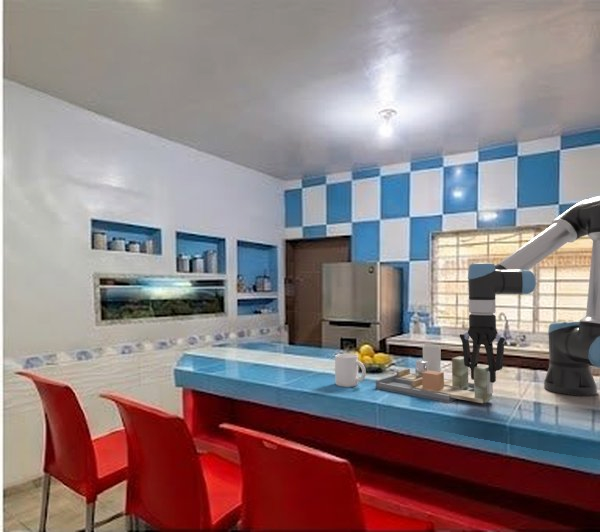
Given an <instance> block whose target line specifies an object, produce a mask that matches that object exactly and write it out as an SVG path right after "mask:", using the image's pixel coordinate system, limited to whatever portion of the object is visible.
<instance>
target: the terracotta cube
mask: <svg viewBox="0 0 600 532" xmlns="http://www.w3.org/2000/svg"><path fill="white" fill-rule="evenodd" d="M444 374H445V373H444V372H443V371H440V372H438V371H431V370H429V371H426V372H423V373H422V382H423V388H425V389H431V390H436V391H438V390H440V389H442V388H444V379H445V377H444Z"/></svg>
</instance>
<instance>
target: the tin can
mask: <svg viewBox="0 0 600 532" xmlns="http://www.w3.org/2000/svg"><path fill="white" fill-rule="evenodd" d="M414 362H415V364H414V365H415V372H414V374H416V379H418V378H421V377H422V373H423V372H426V371H428V361H423V360H415V361H414Z"/></svg>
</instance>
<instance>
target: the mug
mask: <svg viewBox="0 0 600 532" xmlns="http://www.w3.org/2000/svg"><path fill="white" fill-rule="evenodd" d="M359 367H360V369H361V376H360V377H359ZM366 374H367V371H366V367H365V365H364V363H363V362H361V361H360V360H359V355H357V354H356V353H355V354H353V353H338V354H335V355H334V380H335V385H336V386H338V387H343V388H352V387H356V386H358V384H359V383H361V382H362V381H364V380H365V378H366Z"/></svg>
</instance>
